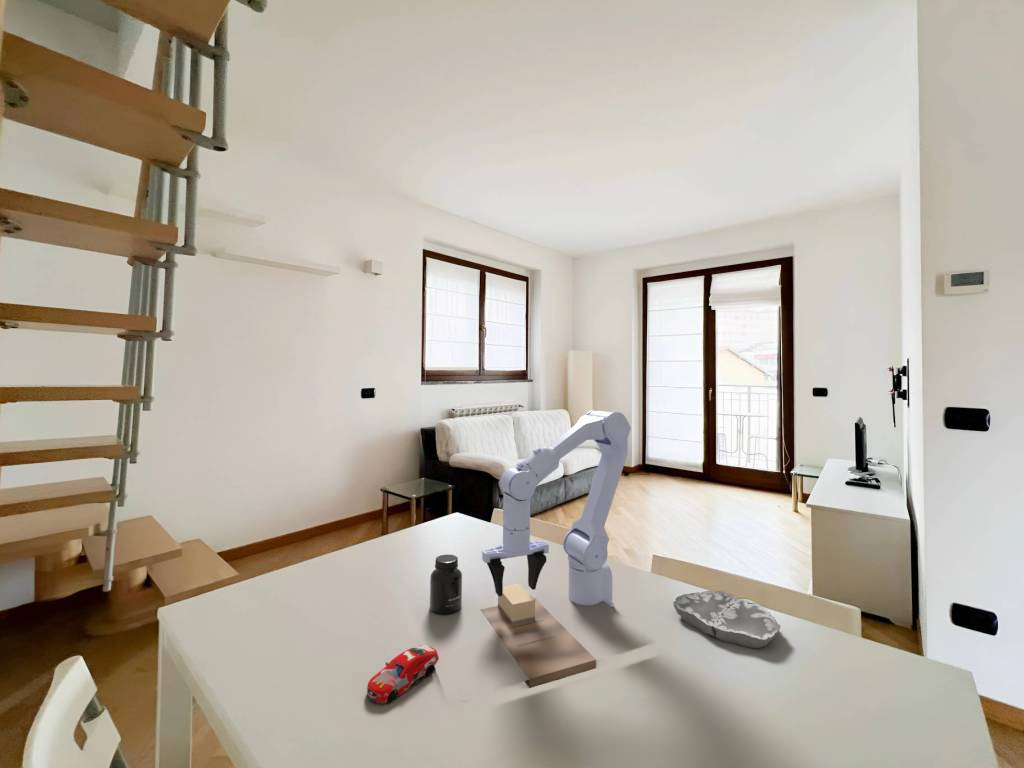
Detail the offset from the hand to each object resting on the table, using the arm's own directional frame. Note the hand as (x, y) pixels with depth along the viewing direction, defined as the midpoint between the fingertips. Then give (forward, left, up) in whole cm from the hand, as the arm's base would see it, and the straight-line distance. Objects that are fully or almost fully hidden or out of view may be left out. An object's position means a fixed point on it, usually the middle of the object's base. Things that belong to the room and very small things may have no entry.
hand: (515, 590), depth 93 cm
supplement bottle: (+13, -8, -6) cm, 16 cm away
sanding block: (0, 0, -5) cm, 5 cm away
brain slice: (-40, +18, -7) cm, 45 cm away
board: (0, +8, -6) cm, 10 cm away
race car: (+25, +10, -7) cm, 28 cm away
